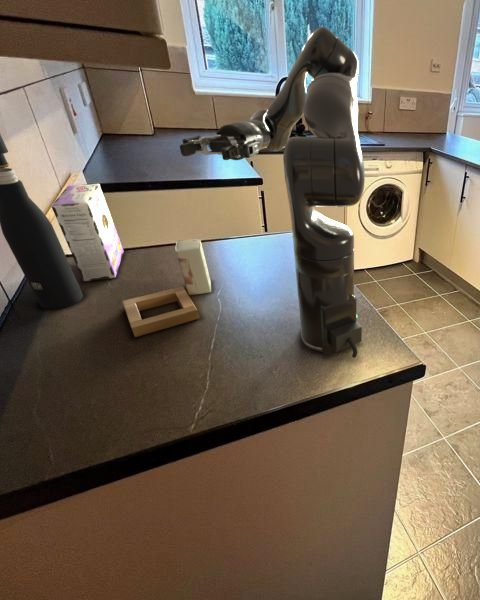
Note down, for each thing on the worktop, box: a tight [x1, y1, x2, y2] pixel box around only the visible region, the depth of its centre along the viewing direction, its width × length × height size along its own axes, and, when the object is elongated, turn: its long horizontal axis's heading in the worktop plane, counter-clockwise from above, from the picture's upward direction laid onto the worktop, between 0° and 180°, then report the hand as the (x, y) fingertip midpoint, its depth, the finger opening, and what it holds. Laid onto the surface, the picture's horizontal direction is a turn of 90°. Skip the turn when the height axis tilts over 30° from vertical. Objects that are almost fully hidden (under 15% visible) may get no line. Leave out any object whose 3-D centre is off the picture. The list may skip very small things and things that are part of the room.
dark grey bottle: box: [0, 133, 84, 310], centre depth 64 cm, size 6×6×30 cm
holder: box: [122, 285, 200, 338], centre depth 70 cm, size 10×10×2 cm
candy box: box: [50, 183, 125, 282], centre depth 80 cm, size 14×6×16 cm, turn 25°
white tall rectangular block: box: [175, 238, 212, 296], centre depth 76 cm, size 5×4×10 cm
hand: (203, 152), depth 75 cm, fingers open, 8 cm apart
